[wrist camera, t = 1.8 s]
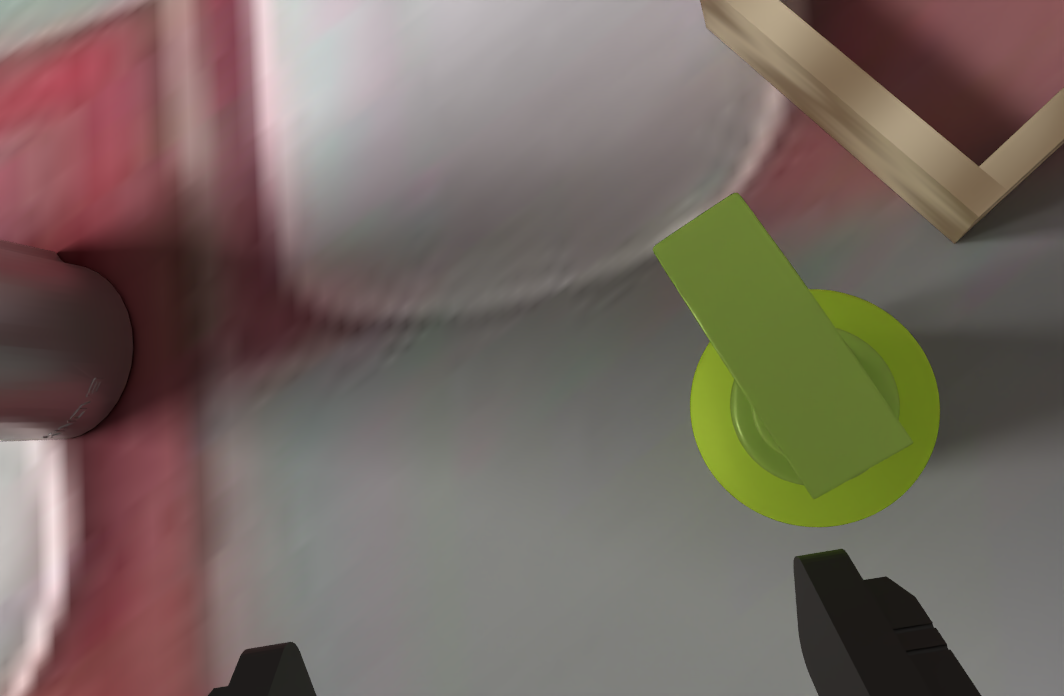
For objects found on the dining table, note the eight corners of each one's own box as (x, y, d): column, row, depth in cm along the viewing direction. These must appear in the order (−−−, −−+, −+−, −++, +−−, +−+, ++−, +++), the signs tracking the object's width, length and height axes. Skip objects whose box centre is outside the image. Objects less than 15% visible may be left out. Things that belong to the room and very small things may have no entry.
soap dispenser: (812, 286, 34) (835, 114, 15) (916, 436, 32) (1095, 464, 13) (686, 365, 35) (555, 303, 16) (780, 513, 33) (761, 642, 14)
